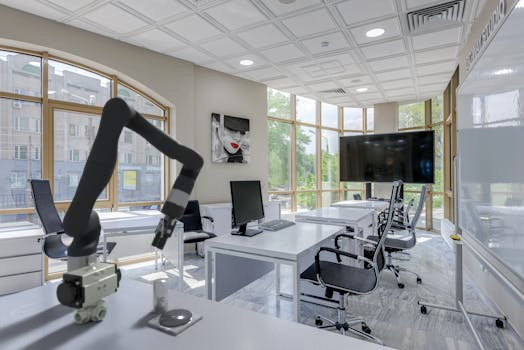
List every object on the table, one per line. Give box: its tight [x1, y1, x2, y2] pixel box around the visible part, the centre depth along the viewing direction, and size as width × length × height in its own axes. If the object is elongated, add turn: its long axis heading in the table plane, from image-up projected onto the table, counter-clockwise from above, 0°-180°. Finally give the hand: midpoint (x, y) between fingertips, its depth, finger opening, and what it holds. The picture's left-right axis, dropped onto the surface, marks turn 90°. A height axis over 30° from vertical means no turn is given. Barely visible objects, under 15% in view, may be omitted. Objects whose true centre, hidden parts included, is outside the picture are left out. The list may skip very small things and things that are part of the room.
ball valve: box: [55, 261, 122, 325], centre depth 95 cm, size 18×8×18 cm, turn 159°
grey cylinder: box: [152, 277, 169, 314], centre depth 102 cm, size 5×5×10 cm
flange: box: [146, 306, 204, 336], centre depth 94 cm, size 12×12×1 cm
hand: (156, 247), depth 102 cm, fingers open, 8 cm apart
